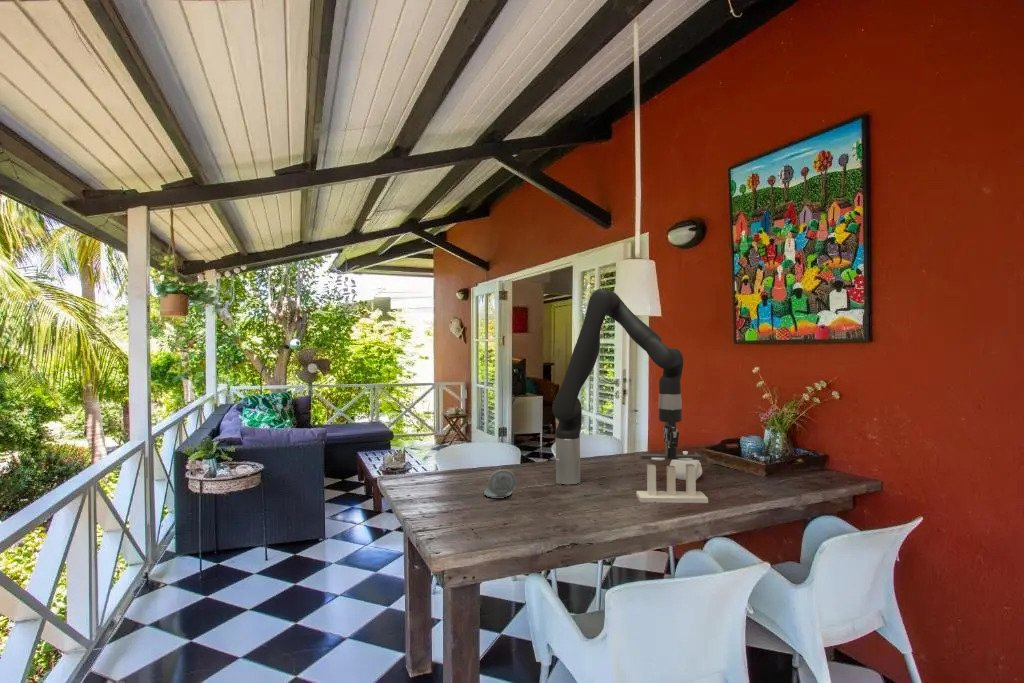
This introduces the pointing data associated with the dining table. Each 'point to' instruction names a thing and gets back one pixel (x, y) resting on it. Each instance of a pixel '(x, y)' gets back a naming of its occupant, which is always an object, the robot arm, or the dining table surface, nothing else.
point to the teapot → (681, 467)
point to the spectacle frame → (665, 456)
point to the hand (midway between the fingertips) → (670, 457)
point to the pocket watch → (500, 484)
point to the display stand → (671, 488)
